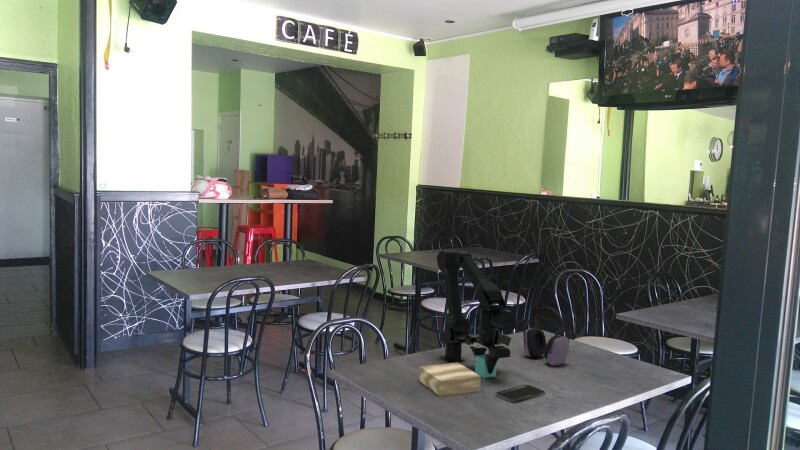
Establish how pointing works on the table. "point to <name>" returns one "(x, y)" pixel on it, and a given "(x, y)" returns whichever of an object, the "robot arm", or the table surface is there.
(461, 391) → the oak box
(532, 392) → the phone
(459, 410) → the table surface
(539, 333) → the headphones
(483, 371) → the teal cube
